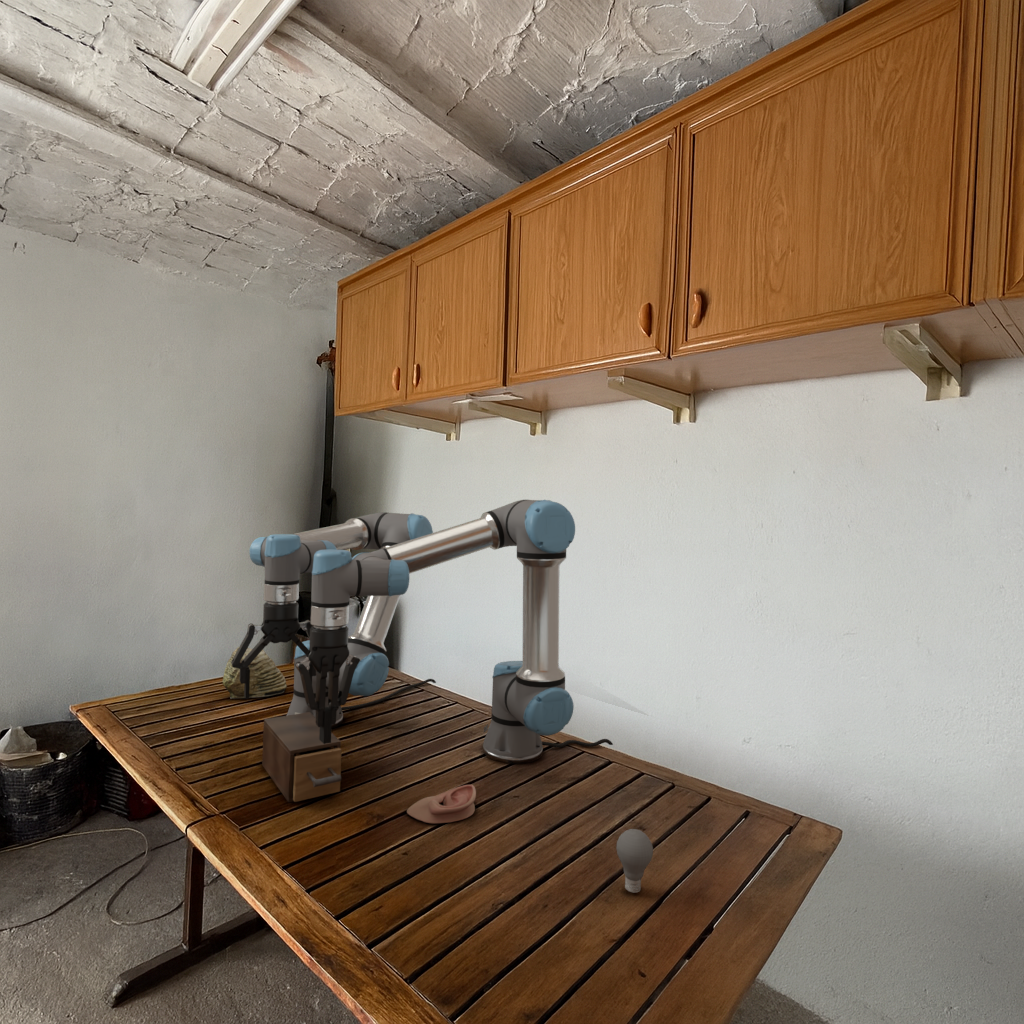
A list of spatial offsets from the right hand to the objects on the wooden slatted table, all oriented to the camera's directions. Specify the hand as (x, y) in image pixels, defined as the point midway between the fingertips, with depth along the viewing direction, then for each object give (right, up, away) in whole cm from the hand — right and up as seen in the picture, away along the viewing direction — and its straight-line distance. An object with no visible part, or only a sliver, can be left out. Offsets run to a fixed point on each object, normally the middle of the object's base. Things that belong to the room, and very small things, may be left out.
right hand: (325, 740), depth 129 cm
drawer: (-6, -12, +9) cm, 16 cm away
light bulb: (+58, -17, -23) cm, 65 cm away
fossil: (-42, -11, +69) cm, 82 cm away
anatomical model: (+24, -15, +1) cm, 28 cm away
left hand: (-16, +5, +17) cm, 23 cm away
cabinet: (-10, -13, +13) cm, 21 cm away
